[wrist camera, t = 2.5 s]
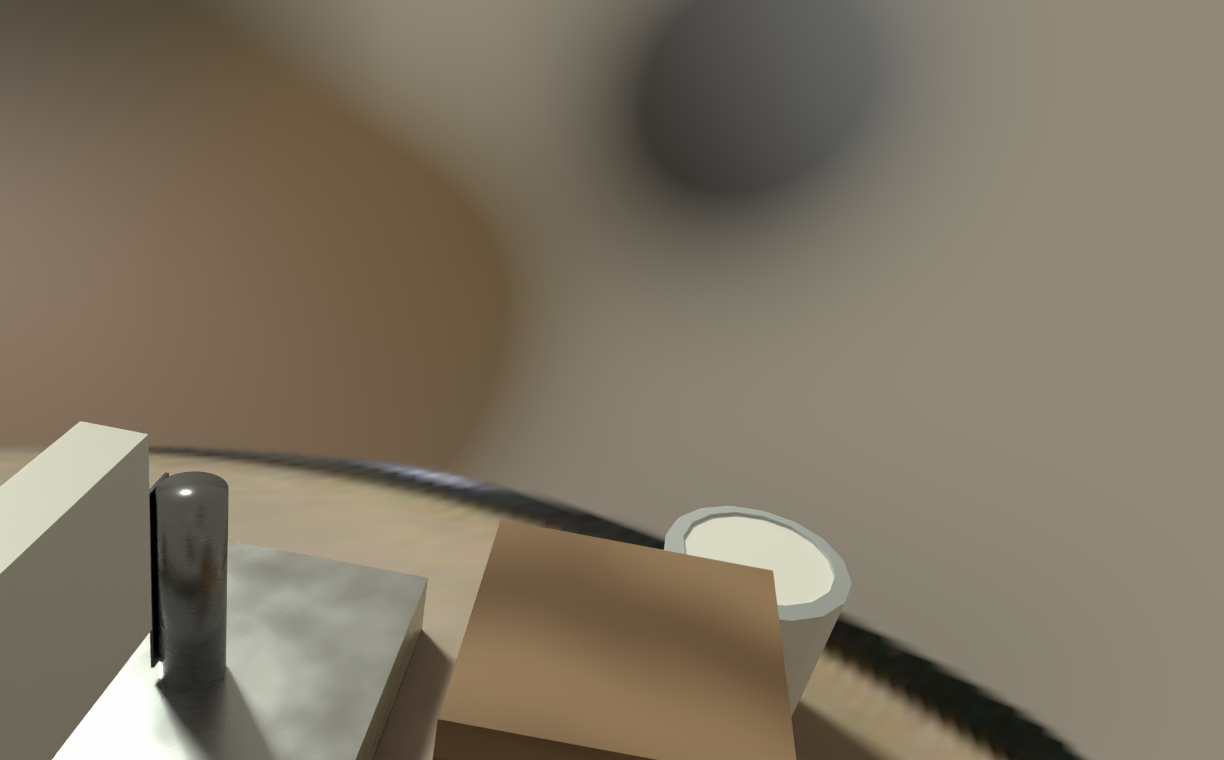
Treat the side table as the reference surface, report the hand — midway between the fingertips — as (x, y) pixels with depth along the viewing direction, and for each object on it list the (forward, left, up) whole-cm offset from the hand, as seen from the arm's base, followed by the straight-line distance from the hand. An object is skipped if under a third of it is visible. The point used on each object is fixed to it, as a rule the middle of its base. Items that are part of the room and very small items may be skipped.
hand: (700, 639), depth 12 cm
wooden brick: (+10, 0, -20) cm, 22 cm away
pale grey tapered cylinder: (+22, -5, -20) cm, 30 cm away
